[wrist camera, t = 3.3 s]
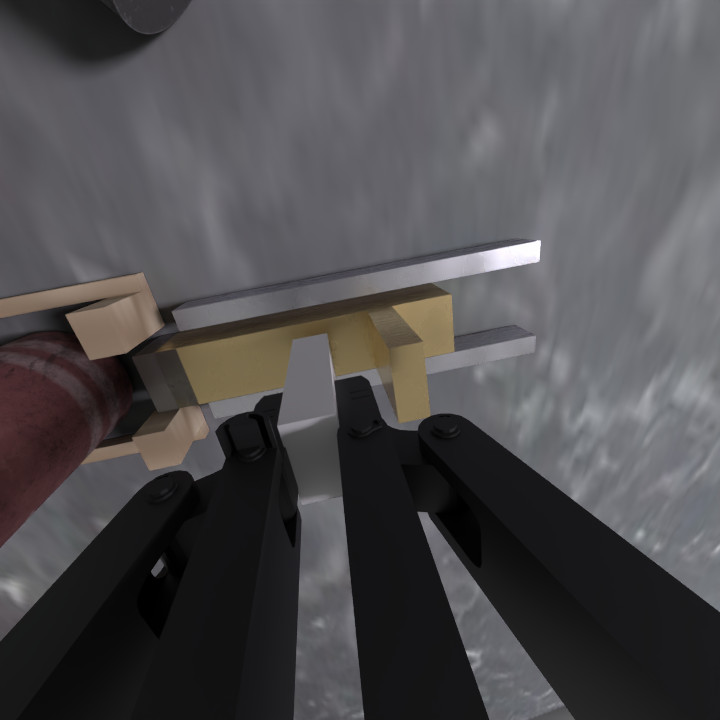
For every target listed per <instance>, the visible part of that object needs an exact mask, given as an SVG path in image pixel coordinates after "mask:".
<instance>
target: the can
mask: <svg viewBox="0 0 720 720" xmlns="http://www.w3.org/2000/svg"><path fill="white" fill-rule="evenodd" d="M132 392H133V388H132V385H131V381H130V379H129V376H128V373H127V370H126V368H125V367H124V366H123V365H122V363H121V362H120V361H119V359H118V358H117V357H116V356H110V357H105V358H99V359H94V360H89V358H88V356H87V354H86V352H85V351H84V349H83V347H82V345H81V343H80V341H79V339H78V338H77V336H76V335H75V334H70V333H65V332H59V331H48V332H36V333H33V334H30V335H28V336H25V337H23V338H20V339H18V340H16V341H13V342H11V343H8V344H6V345H3V346H1V347H0V547H1V546H2V545H3V544H4V543H5V542H6V541H7V540H8V539H9V538H10V537H11V536H12V535H13V534H14V533H15V532H16V531H17V530H18V529H19V528H20V527H21V526H22V524H23V523H24V522H25V521H26V520H27V519H28V518H29V517H30V516H31V515H32V514H33V513H34V512H35V511H36V510H37V509H38V508H39V507H40V506H41V505H42V504H43V503H44V502H45V500H46V499H47V498H48V497H49V496H50V495H51V494H52V493H53V492H54V491H55V490H56V489H57V488H58V487H59V486H60V485H61V484H62V483H63V482H64V481H65V480H66V479H67V477H68V476H69V475H70V474H71V473H72V472H73V471H74V470H75V469H76V468H77V467H78V466H79V465H80V464H81V463H82V462H83V461H84V460H85V459H86V458H87V457H88V456H89V454H90V453H91V452H92V451H93V450H94V449H95V448H96V447H97V446H98V445H99V444H100V443H101V442H102V441H103V440H104V439H105V438H106V437H107V436H108V435H109V434H110V433H111V432H112V430H113V429H114V428H115V427H116V426H117V425H118V424H119V423H120V422H121V421H122V420H123V419H124V418H125V417H126V415H127V413H128V411H129V409H130V407H131V405H132Z"/></svg>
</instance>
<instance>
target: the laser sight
mask: <svg viewBox="0 0 720 720" xmlns="http://www.w3.org/2000/svg"><path fill="white" fill-rule="evenodd" d="M101 1H102V2H103V3H104V4H105V5H107V6H108V7H109V8H110V9H111V10H112V11H114V12H115V13H116V14H117V15H118V16H119V17H120V18H121V19H122V20H123V21H124V22H125V23H127V24H128V25H129V26H130V27H131V28H132V29H134V30H135V31H137V32H139V33H143V34H155V33H158V32H161V31H163V30H165V29H167V28H168V27H170V26H171V25H172V24H173V23H174V22H175V21H176V20H177V19H178V18H179V17H180V16H181V15H182V14H183V12H184V11H185V10H186V8H187V7H188V5H189V4H190V2H191V0H101Z"/></svg>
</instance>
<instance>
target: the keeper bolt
mask: <svg viewBox="0 0 720 720" xmlns="http://www.w3.org/2000/svg"><path fill="white" fill-rule="evenodd" d="M325 333H327V335H328V340H329V345H330V349H331V354H332V359H333V363H334V368H335V373H336V376H340V375H345V374H349V373H354V372H359V371H364V370H369V369H374V368H376V369H377V371H378V374H379V376H380V379H381V381H382V384H383V386H384V388H385V391H386V393H387V396H388V398H389V401H390V403H391V405H392V408H393V410H394V413H395V415H396V418H397V420H398V422H399V423H403V422H408V421H412V420H417V419H422V418H426V417H430V406H429V396H428V385H427V375H426V364H425V358H427V357H432V356H437V355H442V354H447V353H451V352H454V334H453V316H452V298H451V294H450V293H448V292H446V291H444V290H443V289H441V288H439V287H437V286H435V285H434V284H432V283H429V284H424V285H419V286H414V287H409V288H404V289H399V290H394V291H388V292H383V293H378V294H373V295H368V296H363V297H358V298H353V299H347V300H342V301H337V302H332V303H327V304H322V305H317V306H312V307H306V308H301V309H296V310H291V311H286V312H281V313H276V314H270V315H265V316H260V317H255V318H250V319H245V320H240V321H235V322H229V323H224V324H219V325H214V326H209V327H204V328H199V329H194V330H188V331H183V332H178V333H173V334H168V335H163V336H159V337H158V338H156V339H155V340H154V341H152V342H151V343H150V344H148V345H147V346H146V347H144V348H143V349H142V350H140V351H139V352H138V353H136V354H135V355H134V356H132V357H131V358H132V360H133V362H134V364H135V366H136V368H137V370H138V372H139V374H140V376H141V378H142V380H143V383H144V385H145V387H146V389H147V391H148V393H149V395H150V397H151V399H152V401H153V403H154V405H155V407H156V409H157V411H158V413H160V412H165V411H170V410H175V409H180V408H184V407H189V406H194V405H199V404H204V403H209V402H214V401H218V400H223V399H228V398H233V397H238V396H243V395H248V394H252V393H257V392H262V391H267V390H272V389H277V388H282V387H284V385H285V380H286V374H287V369H288V363H289V358H290V352H291V347H292V341H293V340H294V339H299V338H304V337H310V336H315V335H320V334H325Z"/></svg>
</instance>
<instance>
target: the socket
mask: <svg viewBox="0 0 720 720" xmlns="http://www.w3.org/2000/svg"><path fill="white" fill-rule="evenodd" d="M109 297H110V298H109ZM104 298H107V299H105V300H102V301H99V302H97V303H94V304H92V305H89V306H86V307H84V308H81V309H78V310H76V311H73V312H71V313H68V314H65V316H66V317H67V319H68V321H69V323H70V325H71V327H72V328H73V330H74V332H75V334H76V336H77V338H78V339H79V341H80V343H81V345H82V347H83V349H84V351H85V352H86V354H87V356H88V358H89V360H94V359H99V358H105V357H110V356H115V355H120V354H125V353H127V352H129V351H130V350H131V349H133V348H134V347H136V346H137V345H138V344H140V343H141V342H143V341H144V340H145V339H147V338H148V337H150V336H151V335H153V334H154V333H155V332H157V331H158V330H160V329H161V328H162V327H164V326H165V324H164V322H163V319H162V317H161V315H160V312H159V310H158V308H157V305H156V303H155V300H154V298H153V296H152V293H151V291H150V289H149V286H148V284H147V281H146V279H145V277H144V274H143V272H141V273H136V274H131V275H125V276H120V277H115V278H109V279H104V280H98V281H93V282H88V283H82V284H77V285H71V286H66V287H61V288H55V289H50V290H44V291H39V292H34V293H28V294H23V295H17V296H12V297H7V298H1V299H0V318H3V317H8V316H14V315H19V314H24V313H29V312H35V311H40V310H45V309H51V308H56V307H61V306H67V305H72V304H77V303H83V302H88V301H93V300H99V299H104ZM208 432H209V428H208V426H207V423H206V421H205V419H204V416H203V414H202V412H201V409H200V407H199V405H194V406H189V407H184V408H180V409H175V410H170V411H165V412H160V413H158V411H157V409H155V411H154V412H153V413H152V414H151V415H150V417H149V418H148V419H147V420H146V421H145V423H144V424H143V425H142V426H141V427H140V429H139V430H138V431H137V432H136V433H135V434H133V435H128V436H124V437H119V438H114V439H109V440H104V441H102V442H101V443H100V444H99V445H98V446H97V447H96V448H95V449H94V450H93V451H92V452H91V453H90V454H89V456H88V457H87V458H86V459H85V460H84V461H83V462H82V463H81V464H86V463H91V462H96V461H100V460H105V459H110V458H114V457H119V456H124V455H129V454H133V453H138V452H140V454H141V456H142V457H143V459H144V461H145V463H146V465H147V467H148V469H149V470H150V471H151V470H155V469H160V468H165V467H169V466H174V465H179V464H181V462H182V460H183V459H184V457H185V455H186V453H187V451H188V449H189V448H190V446H191V444H192V442H193V441H195V440H200V439H204V438H206V436H207V434H208ZM81 464H80V465H81Z"/></svg>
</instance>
